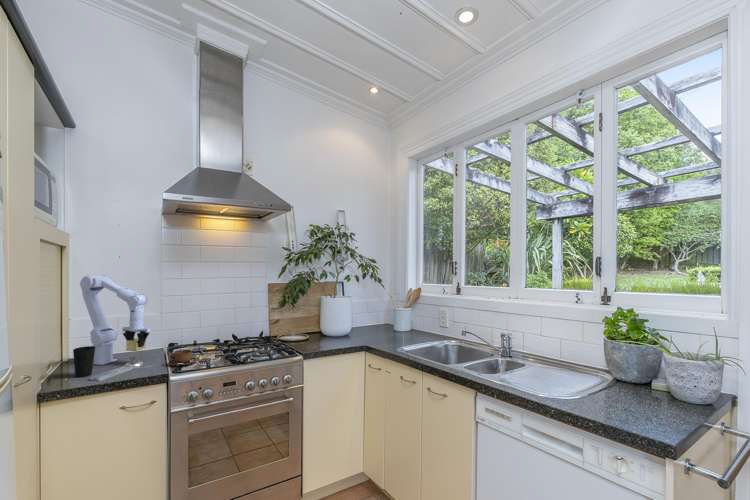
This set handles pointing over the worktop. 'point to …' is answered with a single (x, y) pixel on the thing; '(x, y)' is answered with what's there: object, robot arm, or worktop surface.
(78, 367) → the cup
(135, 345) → the yellowish glass tumbler
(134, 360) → the ratchet
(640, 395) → the worktop surface
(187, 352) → the cup and saucer
